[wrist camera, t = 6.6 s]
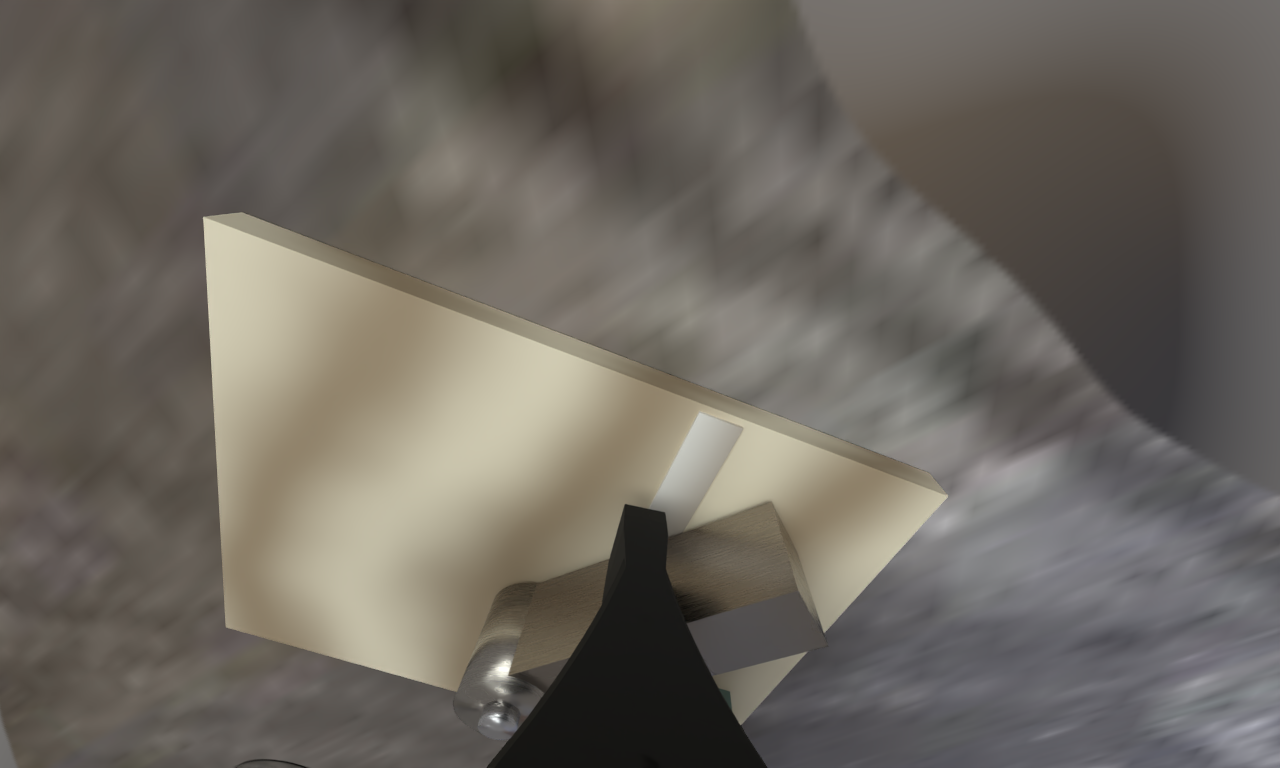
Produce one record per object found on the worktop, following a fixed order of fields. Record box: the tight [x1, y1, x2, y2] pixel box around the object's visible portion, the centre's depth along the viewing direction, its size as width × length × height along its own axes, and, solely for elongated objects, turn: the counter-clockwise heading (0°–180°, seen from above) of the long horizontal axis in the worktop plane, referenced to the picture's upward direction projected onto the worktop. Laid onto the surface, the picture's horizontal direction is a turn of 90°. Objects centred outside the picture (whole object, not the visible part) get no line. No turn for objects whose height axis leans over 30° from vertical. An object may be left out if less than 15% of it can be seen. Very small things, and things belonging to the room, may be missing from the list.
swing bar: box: [453, 502, 828, 740], centre depth 12 cm, size 10×3×3 cm, turn 118°
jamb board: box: [203, 212, 948, 725], centre depth 13 cm, size 19×15×4 cm
